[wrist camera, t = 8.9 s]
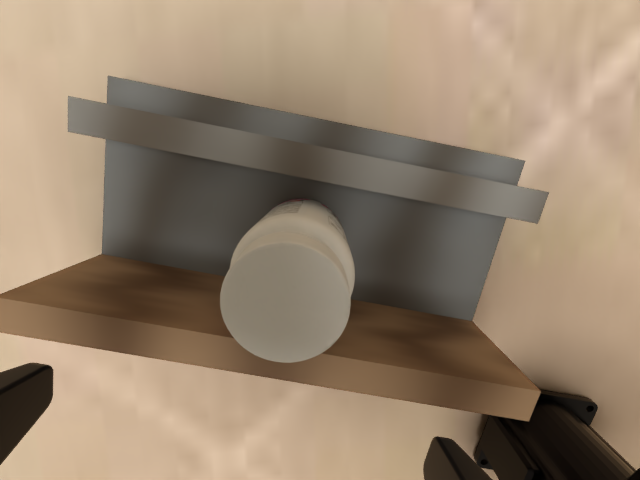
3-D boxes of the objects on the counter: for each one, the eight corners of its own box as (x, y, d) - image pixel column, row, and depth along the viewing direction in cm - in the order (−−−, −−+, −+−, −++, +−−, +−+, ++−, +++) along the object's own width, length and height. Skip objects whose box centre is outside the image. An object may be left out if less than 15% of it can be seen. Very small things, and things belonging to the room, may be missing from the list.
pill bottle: (251, 267, 18) (190, 352, 10) (271, 186, 17) (222, 206, 9) (330, 289, 18) (336, 390, 10) (355, 211, 17) (385, 253, 9)
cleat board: (513, 161, 17) (638, 156, 11) (457, 334, 20) (528, 421, 13) (120, 81, 17) (-21, 20, 10) (112, 272, 19) (-5, 331, 12)
